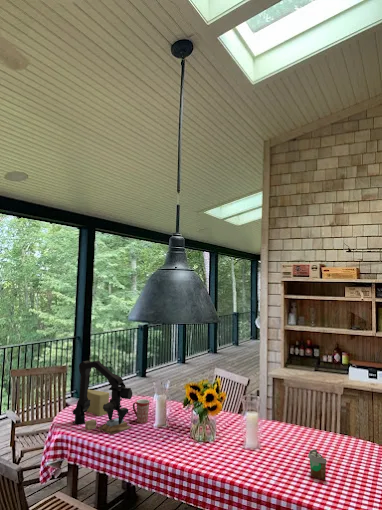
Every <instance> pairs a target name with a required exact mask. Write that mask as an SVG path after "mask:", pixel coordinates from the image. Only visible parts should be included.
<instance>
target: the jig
mask: <svg viewBox="0 0 382 510" xmlns="http://www.w3.org/2000/svg"><path fill="white" fill-rule="evenodd" d="M131 429H132V426H130V425H128V421H127V422H126V421H124V423H121V424H120V425H119V424H118V425H115V426H111V427H110V426H107V422H106V423H103V424H102V425H101V426H100V427H98V428H97V430H99V431H102V432H103V433H106V434H109V435H115V434H118V433H120V432H121V433H122V432H124V431H127V430H131Z"/></svg>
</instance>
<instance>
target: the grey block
mask: <svg viewBox="0 0 382 510" xmlns="http://www.w3.org/2000/svg"><path fill="white" fill-rule="evenodd" d="M124 422H125V420H124V418H123V420H122V422H121V423H124ZM106 423H107V426H110V427H111V426H115V425H118V424H119V417H117V418H112V419H111V420H109V419H108V420H106Z"/></svg>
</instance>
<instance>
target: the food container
mask: <svg viewBox="0 0 382 510" xmlns="http://www.w3.org/2000/svg"><path fill="white" fill-rule="evenodd" d="M317 450H318V449H317V448H316V449H311V450H309V451H308V456H307V457H308V459H309V466H310V468H309V469H310V475H311V476H312V477H313V478H314V479H318V480H323V481H325V480H326V476H327V475H326V472H327V471H326V470H327V458H325V457H323V456H322V454H321V453H319V452H318V451H317Z"/></svg>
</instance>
